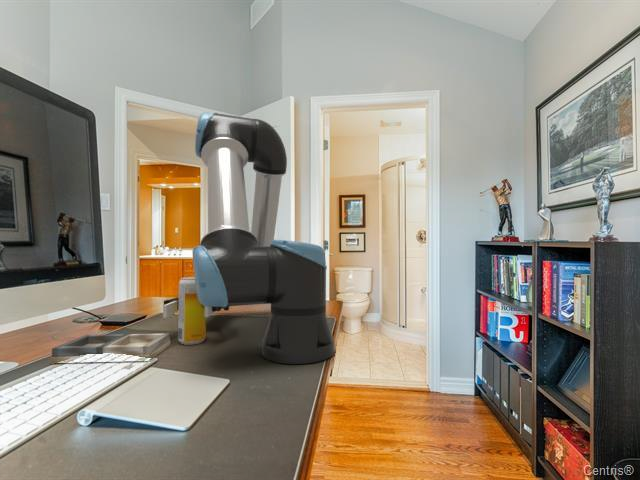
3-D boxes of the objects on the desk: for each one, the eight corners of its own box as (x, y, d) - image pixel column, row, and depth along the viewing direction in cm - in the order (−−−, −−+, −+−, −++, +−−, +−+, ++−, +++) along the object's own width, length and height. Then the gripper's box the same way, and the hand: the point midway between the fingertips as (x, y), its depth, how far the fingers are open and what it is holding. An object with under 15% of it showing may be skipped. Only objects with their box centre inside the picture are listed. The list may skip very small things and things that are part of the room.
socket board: (170, 345, 73) (170, 332, 73) (148, 361, 62) (148, 347, 62) (87, 347, 72) (87, 334, 72) (49, 364, 61) (50, 349, 61)
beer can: (211, 340, 77) (211, 277, 77) (188, 347, 72) (189, 279, 72) (195, 337, 80) (195, 276, 81) (172, 343, 75) (173, 278, 76)
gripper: (249, 309, 95) (233, 327, 72) (175, 310, 93) (135, 329, 71) (249, 283, 95) (233, 293, 72) (175, 284, 94) (136, 294, 71)
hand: (185, 311), depth 72 cm, fingers open, 8 cm apart
